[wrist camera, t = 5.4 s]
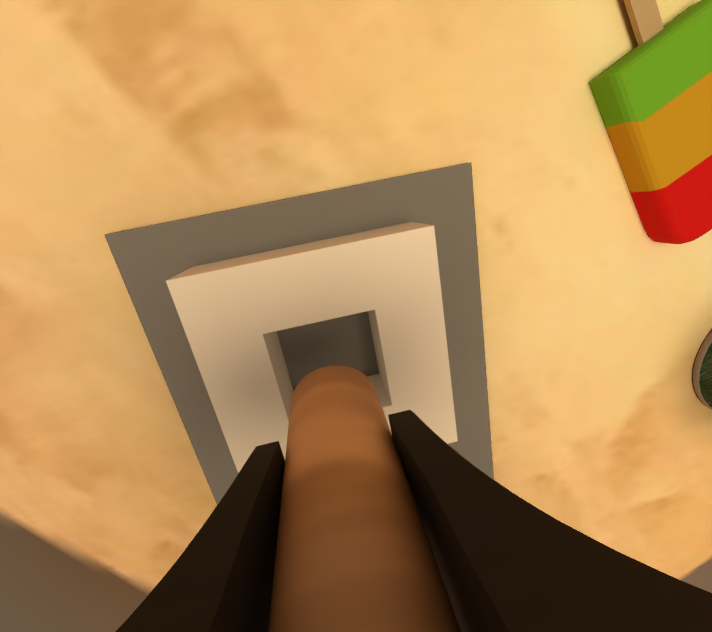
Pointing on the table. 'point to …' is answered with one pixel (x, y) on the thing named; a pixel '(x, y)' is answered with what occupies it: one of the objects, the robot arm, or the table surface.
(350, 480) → the peg
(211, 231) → the mat
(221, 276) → the hole block
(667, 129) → the popsicle
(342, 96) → the table surface
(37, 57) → the table surface
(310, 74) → the table surface
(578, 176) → the table surface
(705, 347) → the canned tomato
